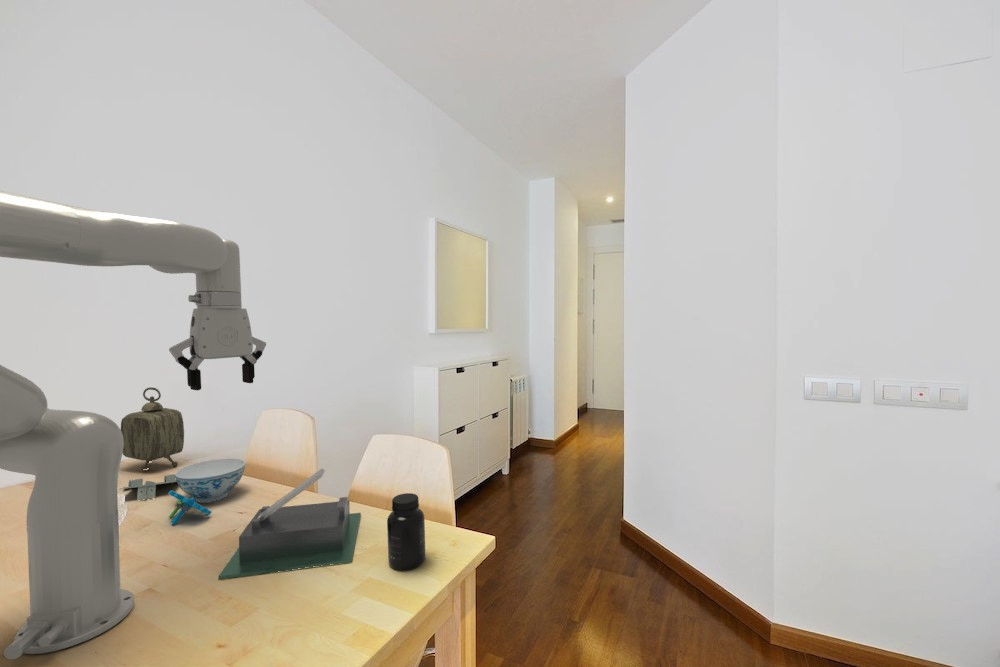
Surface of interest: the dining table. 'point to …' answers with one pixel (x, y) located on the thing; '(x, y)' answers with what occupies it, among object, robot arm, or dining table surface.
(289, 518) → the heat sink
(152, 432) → the tabletop clock
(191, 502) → the gear
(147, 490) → the metal bracket
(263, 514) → the steel strap
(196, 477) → the chinaware
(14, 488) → the dining table surface
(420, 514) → the supplement bottle
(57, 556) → the robot arm
